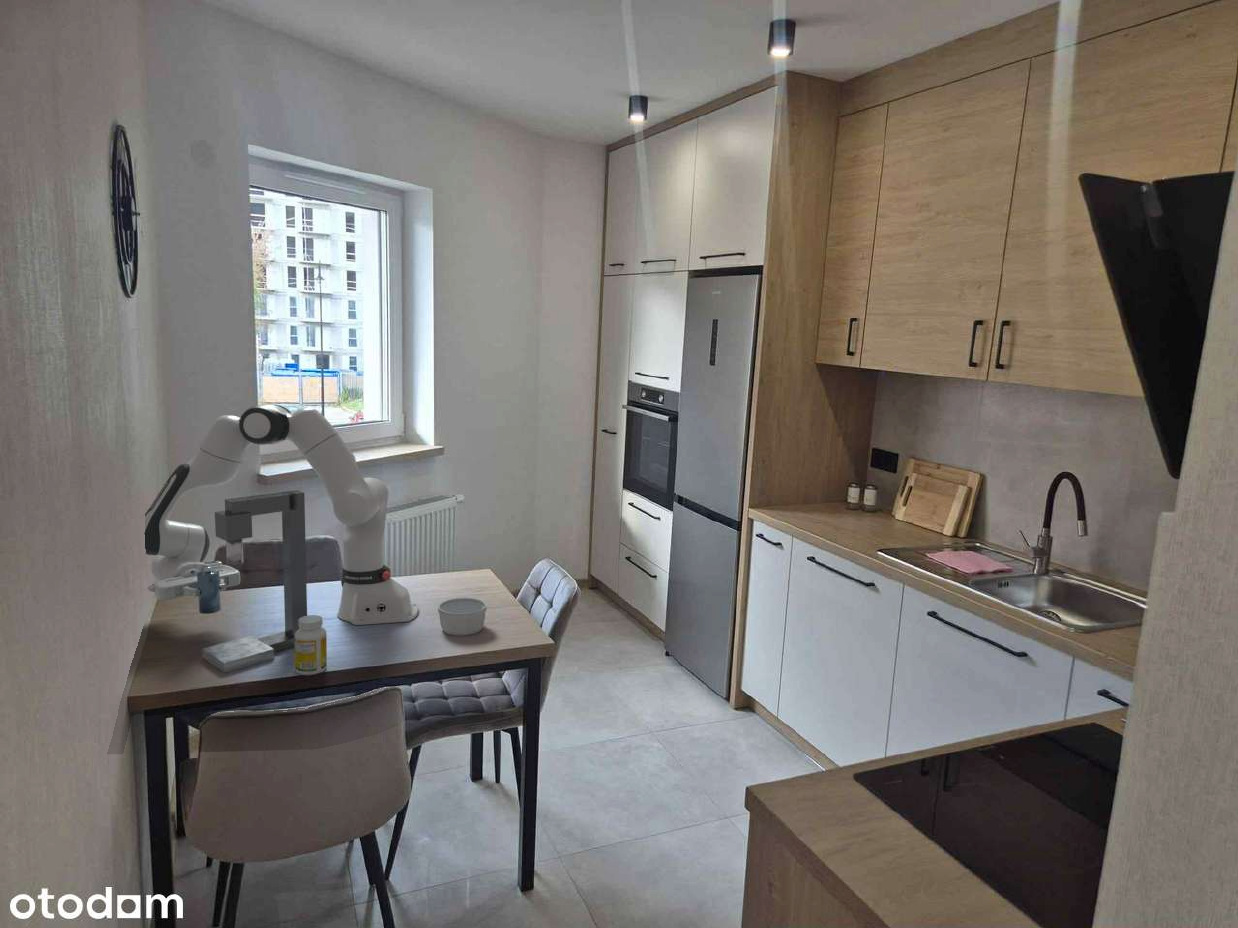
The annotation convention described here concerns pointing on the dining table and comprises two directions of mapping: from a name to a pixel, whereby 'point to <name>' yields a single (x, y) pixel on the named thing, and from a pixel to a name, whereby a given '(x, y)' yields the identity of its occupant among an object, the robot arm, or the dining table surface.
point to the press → (239, 526)
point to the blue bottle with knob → (209, 591)
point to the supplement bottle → (310, 646)
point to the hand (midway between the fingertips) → (210, 590)
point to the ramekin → (462, 616)
